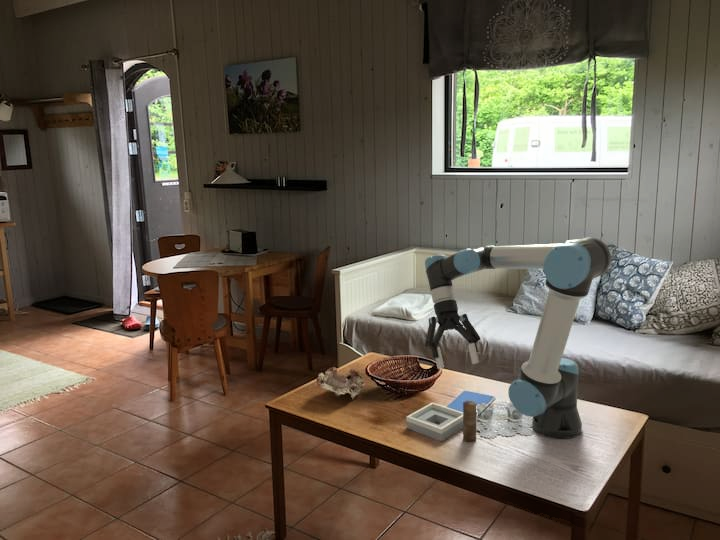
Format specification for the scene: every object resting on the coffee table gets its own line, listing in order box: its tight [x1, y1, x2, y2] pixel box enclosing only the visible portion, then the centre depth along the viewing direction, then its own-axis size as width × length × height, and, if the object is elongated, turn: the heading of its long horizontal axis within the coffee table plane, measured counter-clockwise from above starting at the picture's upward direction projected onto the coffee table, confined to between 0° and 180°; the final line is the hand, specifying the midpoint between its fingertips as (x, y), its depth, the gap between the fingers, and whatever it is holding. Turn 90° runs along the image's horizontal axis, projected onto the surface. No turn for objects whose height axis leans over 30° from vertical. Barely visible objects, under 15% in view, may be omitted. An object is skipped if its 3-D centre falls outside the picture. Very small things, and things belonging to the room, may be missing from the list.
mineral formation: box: [315, 367, 365, 400], centre depth 226 cm, size 23×16×10 cm
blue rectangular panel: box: [445, 390, 496, 417], centre depth 214 cm, size 19×13×1 cm, turn 147°
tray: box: [405, 402, 463, 442], centre depth 198 cm, size 14×14×4 cm
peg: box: [462, 401, 477, 444], centre depth 188 cm, size 4×4×12 cm
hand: (458, 365), depth 194 cm, fingers open, 13 cm apart
